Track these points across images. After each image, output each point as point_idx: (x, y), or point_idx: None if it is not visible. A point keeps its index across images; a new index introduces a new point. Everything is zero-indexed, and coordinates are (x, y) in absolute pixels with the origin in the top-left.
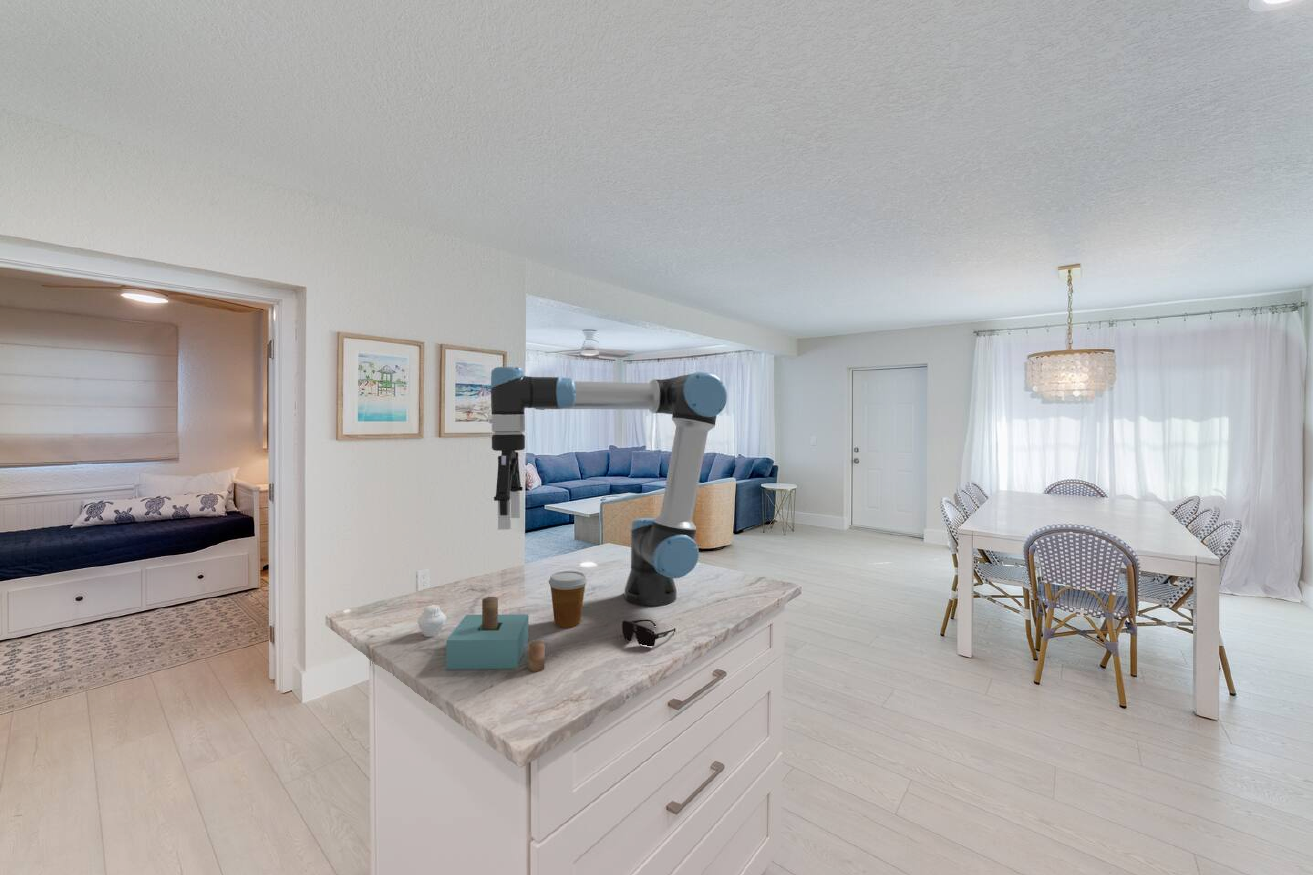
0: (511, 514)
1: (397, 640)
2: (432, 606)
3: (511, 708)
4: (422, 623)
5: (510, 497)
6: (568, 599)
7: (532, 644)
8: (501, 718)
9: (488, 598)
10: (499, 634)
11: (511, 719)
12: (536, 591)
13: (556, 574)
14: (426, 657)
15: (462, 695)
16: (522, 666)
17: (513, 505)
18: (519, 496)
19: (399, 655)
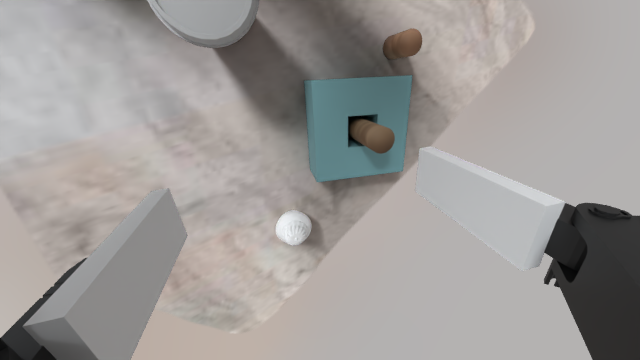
0: (176, 233)
1: (311, 242)
2: (297, 238)
3: (474, 59)
4: (310, 231)
5: (133, 321)
6: None
7: (411, 49)
8: (488, 65)
9: (379, 144)
10: (392, 107)
11: (492, 53)
12: (36, 123)
13: (180, 25)
14: (355, 193)
15: (439, 120)
16: (385, 69)
17: (153, 257)
18: (73, 278)
19: (349, 221)
